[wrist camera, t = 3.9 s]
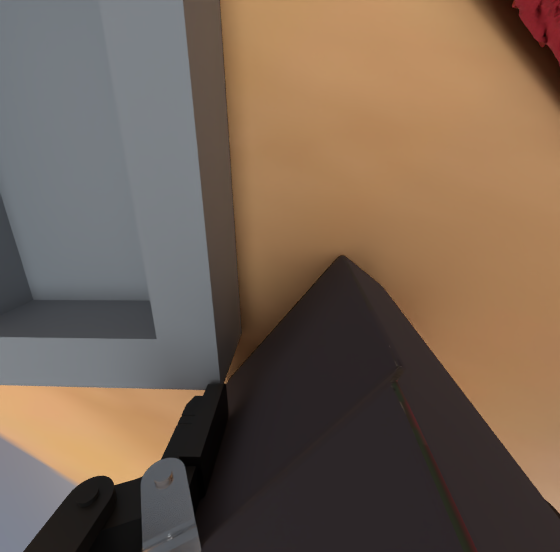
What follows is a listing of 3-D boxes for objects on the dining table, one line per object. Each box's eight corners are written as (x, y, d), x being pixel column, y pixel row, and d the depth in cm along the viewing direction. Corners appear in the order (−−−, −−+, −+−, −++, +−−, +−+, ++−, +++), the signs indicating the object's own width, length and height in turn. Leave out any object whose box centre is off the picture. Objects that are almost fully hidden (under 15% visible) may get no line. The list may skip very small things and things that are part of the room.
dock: (208, -169, 11) (138, -443, 6) (241, 332, 17) (221, 390, 13) (-138, -139, 12) (-440, -360, 7) (20, 329, 18) (-77, 383, 13)
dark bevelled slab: (271, 413, 19) (166, 1093, 5) (218, 376, 19) (-76, 1009, 4) (392, 293, 16) (1127, 1204, 2) (333, 244, 15) (656, 949, 1)
